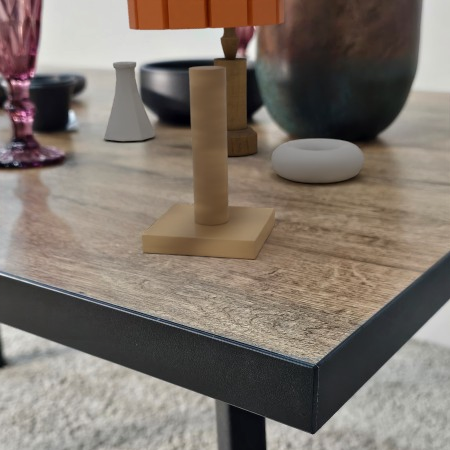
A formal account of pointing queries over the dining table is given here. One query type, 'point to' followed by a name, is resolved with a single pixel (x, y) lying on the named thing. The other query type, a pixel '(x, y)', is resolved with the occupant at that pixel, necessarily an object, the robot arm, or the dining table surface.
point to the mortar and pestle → (236, 97)
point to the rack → (209, 187)
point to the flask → (127, 108)
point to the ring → (203, 14)
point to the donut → (317, 160)
